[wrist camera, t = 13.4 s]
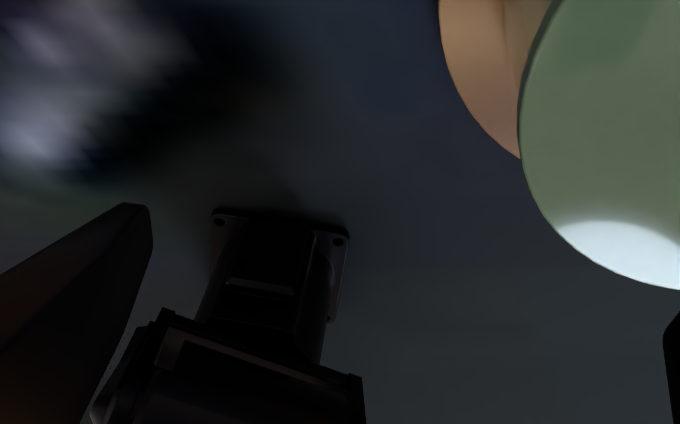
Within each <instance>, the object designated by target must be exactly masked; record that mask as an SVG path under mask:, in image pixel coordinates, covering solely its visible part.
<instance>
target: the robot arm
mask: <svg viewBox="0 0 680 424" xmlns="http://www.w3.org/2000/svg"><path fill="white" fill-rule="evenodd" d="M218 218H221V219H223V220H224V221H222V220H219V219H218ZM209 232H210V258H211V279H210V281H209V284H208V286H207V289H206V291H205V294H204V296H203V299H202V301H201V304H200V306H199V309H198V311H197V314H196V317H195V319H194V320H191V319H188V318H186V317H183V316H180V315H177V314H175V311H173V310H170V309H167V308H164V307H162V309H161V311H160V313H159V315H158V317H157V319H156V321H155V322H153V321H150V322H149V324H148V326H142V327H137V328H136V330H135V332H134V334H133V336H132V338H131V340H130V342H129V344H128V346H127V348H126V350H125V352H124V354H123V356H122V358H121V360H120V362H119V364H118V365H117V367H116V369H115V370H114V372H113V373H112V375H111V376H110V378H109V379H108V381H107V382H106V384H105V386H104V387H103V389H102V390H101V392H100V393H99V395H98V396H97V398H96V400H95V402H94V404H93V406H92V409H91V411H90V417H91V419H92V422H93V424H366V416H365V406H364V396H363V385H362V377H359V376H356V375H354V374H351V373H349V374H348V375H347V374H344V373H341V372H339V371H336V370H333V369H330V368H327V367H324V366H322V365H319V364H320V358H321V352H322V346H323V340H324V334H325V329H326V324H330V323H332V322H334V320H335V317H336V311H337V306H338V300H339V295H340V289H341V284H342V278H343V273H344V267H345V261H346V256H347V250H348V245H349V239H350V237H349V234H348V232H347V231H345V230H344V229H341V228H335V227H329V226H323V225H317V224H312V223H306V222H300V221H294V220H288V219H282V218H276V217H270V216H264V215H258V214H253V213H247V212H241V211H235V210H229V209H223V208H217V209H214V210H213V211H212V213H211V216H210V218H209ZM335 238H340V239H342V240H336V239H335ZM152 249H153V237H152V228H151V220H150V213H149V210H148V208H147V207H146V206H145V205H140V204H134V203H128V202H122V203H119V204H118V205H116V206H114V207H113V208H111V209H109V210H108V211H106V212H104V213H103V214H101V215H99V216H98V217H96V218H94V219H93V220H91V221H89V222H87V223H86V224H84V225H82V226H81V227H79V228H77V229H76V230H74V231H72V232H71V233H69V234H67V235H66V236H64V237H62V238H61V239H59V240H57V241H56V242H54V243H52V244H51V245H49V246H47V247H46V248H44V249H42V250H41V251H39V252H37V253H36V254H34V255H32V256H31V257H29V258H27V259H26V260H24V261H22V262H21V263H19V264H17V265H16V266H14V267H12V268H11V269H9V270H7V271H6V272H4V273H2V274H1V275H0V424H79V423H80V421H81V419H82V417H83V415H84V413H85V411H86V409H87V407H88V405H89V403H90V401H91V399H92V397H93V395H94V392H95V390H96V388H97V386H98V384H99V382H100V380H101V378H102V376H103V374H104V372H105V370H106V368H107V366H108V364H109V362H110V360H111V358H112V356H113V354H114V352H115V350H116V348H117V346H118V344H119V342H120V339H121V337H122V335H123V333H124V330H125V328H126V325H127V322H128V320H129V317H130V314H131V311H132V308H133V305H134V303H135V300H136V297H137V294H138V291H139V288H140V286H141V283H142V280H143V277H144V274H145V271H146V268H147V266H148V263H149V260H150V257H151V254H152ZM663 350H664V358H665V365H666V373H667V380H668V388H669V395H670V402H671V410H672V417H673V422H674V424H680V311H679V313H678V314H677V315H676V316H675V318H674V319H673V320H672V321H671V323H670V324H669V325H668V327H667V328H666V330H665V332H664V335H663Z"/></svg>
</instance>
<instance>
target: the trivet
mask: <svg viewBox="0 0 680 424" xmlns="http://www.w3.org/2000/svg"><path fill="white" fill-rule="evenodd" d="M504 5H505V0H438V13H439V23H440V33H441V42H442V46H443V50H444V54H445V59H446V63H447V67H448V70H449V72H450V75H451V77H452V79H453V82H454V84H455V87H456V89H457V92H458V93H459V95H460V97H461V98H462V100H463V102H464V103H465V105H466V107H467V108H468V110H469V112H470V113H471V115H472V116H473V117H474V118H475V119H476V121H477V122H478V123H479V124H480V126H481V127H482V128H483V129H484V130H485V132H487V133H488V134H489V135H490V136H491V137H492V138H493V139H494V140H495V141H496V142H498V143H499V144H500V145H501V146H502V147H503V148H505V149H506V150H508V151H509V152H510V153H512V154H513V155H515V156H516V157H518V158H519V159H520V153H519V146H518V140H517V102H518V93H517V89H516V85H515V80H514V76H513V72H512V68H511V64H510V60H509V56H508V52H507V45H506V39H505V32H504Z"/></svg>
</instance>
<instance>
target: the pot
mask: <svg viewBox="0 0 680 424" xmlns="http://www.w3.org/2000/svg"><path fill="white" fill-rule="evenodd" d="M504 32H505V39H506V45H507V52H508V56H509V60H510V64H511V68H512V72H513V76H514V80H515V85H516V89H517V93H518V102H517V140H518V146H519V153H520V159H521V164H522V169H523V172H524V175H525V178H526V181H527V184H528V187H529V190H530V193H531V195H532V197H533V199H534V200H535V202H536V204H537V206H538V208H539V210H540V211H541V213H542V215H543V216H544V217H545V219H546V220H547V221H548V222H549V224H550V225H551V226H552V228H553V229H554V230H555V231H556V233H558V234H559V235H560V236H561V237H562V238H563V239H564V240H565V241H566V242H567V243H568V244H570V245H571V246H572V247H573V248H574V249H575V250H577V251H578V252H580V253H581V254H582V255H584V256H585V257H587V258H588V259H590V260H591V261H593V262H594V263H596V264H598V265H600V266H602V267H604V268H606V269H608V270H610V271H612V272H614V273H616V274H619V275H622V276H625V277H627V278H630V279H633V280H636V281H639V282H642V283H646V284H650V285H654V286H659V287H663V288H667V289H674V290H680V0H505V5H504Z"/></svg>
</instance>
